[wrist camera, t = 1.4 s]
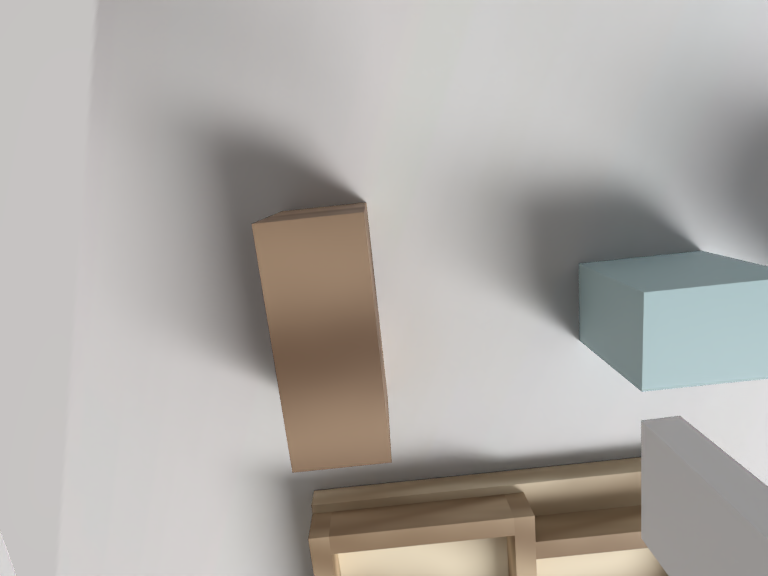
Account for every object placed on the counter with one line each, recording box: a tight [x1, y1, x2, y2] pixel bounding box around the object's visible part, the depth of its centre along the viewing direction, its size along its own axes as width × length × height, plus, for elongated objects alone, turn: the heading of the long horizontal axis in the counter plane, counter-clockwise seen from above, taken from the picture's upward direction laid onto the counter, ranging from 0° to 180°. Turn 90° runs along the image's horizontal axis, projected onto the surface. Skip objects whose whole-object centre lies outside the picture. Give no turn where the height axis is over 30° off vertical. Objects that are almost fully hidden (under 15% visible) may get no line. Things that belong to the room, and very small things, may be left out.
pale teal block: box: [579, 251, 768, 392], centre depth 22 cm, size 4×6×6 cm, turn 96°
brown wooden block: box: [252, 202, 392, 473], centre depth 21 cm, size 10×4×6 cm, turn 6°
